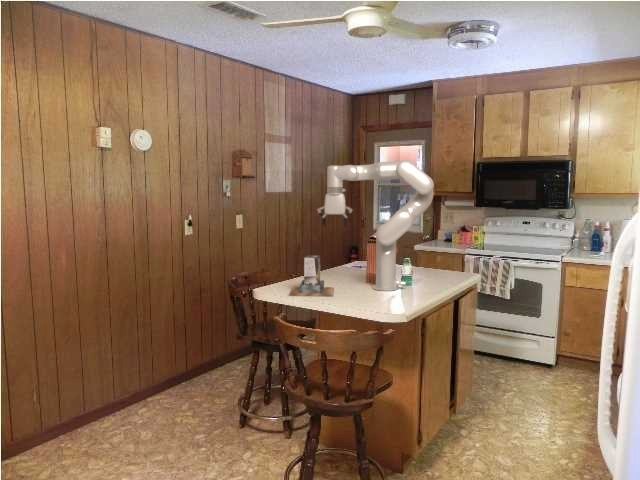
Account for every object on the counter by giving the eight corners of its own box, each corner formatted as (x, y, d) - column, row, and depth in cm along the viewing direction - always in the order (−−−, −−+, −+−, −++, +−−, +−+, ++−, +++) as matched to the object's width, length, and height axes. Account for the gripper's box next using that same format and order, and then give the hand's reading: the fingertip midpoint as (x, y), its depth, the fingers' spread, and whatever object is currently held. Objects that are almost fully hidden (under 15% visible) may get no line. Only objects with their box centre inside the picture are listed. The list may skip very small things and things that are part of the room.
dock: (334, 289, 238) (334, 280, 238) (333, 296, 223) (333, 286, 223) (293, 289, 240) (292, 279, 239) (289, 295, 225) (289, 285, 224)
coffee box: (317, 292, 226) (317, 257, 225) (303, 292, 227) (303, 257, 226) (320, 288, 235) (320, 255, 234) (307, 288, 236) (307, 254, 235)
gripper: (352, 191, 243) (352, 225, 245) (317, 191, 244) (317, 225, 246) (352, 191, 235) (352, 226, 237) (316, 191, 237) (316, 226, 238)
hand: (334, 226), depth 242 cm, fingers open, 9 cm apart
